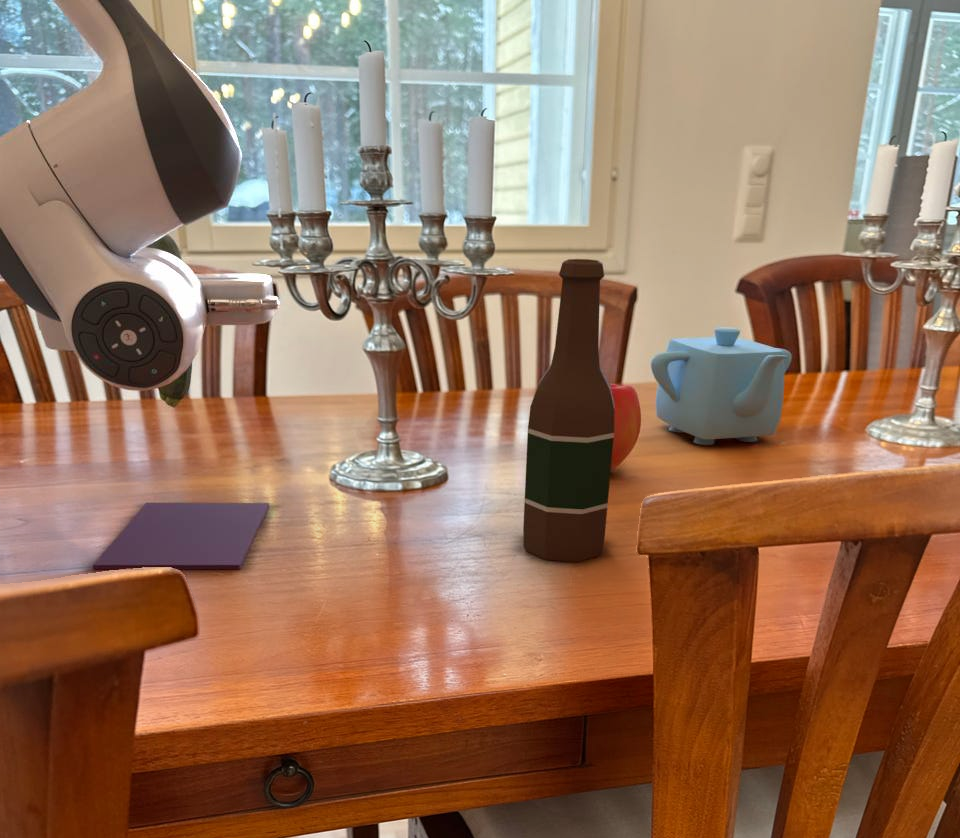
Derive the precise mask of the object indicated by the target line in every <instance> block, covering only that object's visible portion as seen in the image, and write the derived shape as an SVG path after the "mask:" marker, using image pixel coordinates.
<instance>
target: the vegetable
mask: <svg viewBox="0 0 960 838" xmlns="http://www.w3.org/2000/svg"><path fill="white" fill-rule="evenodd" d="M146 248H154V249H159V250H162V251H165V252H167V253H170V254H172V255H174V256H175V257H177V258H178V259H180V260H181V261H182V262H183V259H182V255H181V252H180V249H179V246H178V245H177V243H176V241H175V240H174V239H173V237H171V235H169V233H168V234H167V235H165V236H163V237H162V238H160V239H158V240H157V241H155V242H153V243H152V244H150V245H148V246H146ZM192 371H193V362H192V363H191V364H190V366H189V367H188V368H187V369H186V370H185V372H184V373H183V374H182V375H181V376H180V377H178V378H177V379H176V380H174V381H173V382H171V383H169V384H168V385H166V386H163V387H160V388H157V390H158V394H159V398H160V400H162V401H163V402H165V404H166V405H167V406H169V407H171V408H176V407H177V406H178V405H179V404H180V403H181V401H182V399H184V398H185V396H186V395H187V394H188V393H189V390H190V388H191V387H190V386H191V383H192Z"/></svg>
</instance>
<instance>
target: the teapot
mask: <svg viewBox="0 0 960 838" xmlns="http://www.w3.org/2000/svg"><path fill="white" fill-rule="evenodd" d="M713 330H714V336H708V337H704V336H703V337H677V338H671V339H670V340H668V344H667V346H666V350H665V351H663V352H660V353H658V354H655V355H654V356H653V357H652V359H651V360H650V368H651V373H652V375H653V377H654V379H655V381H656V382H657V387H656V388H657V389H656V395H655V412H656V418H658V419H659V420H661V421H662V422H664V423H666V424H667V425H668V426H670V427H669V429H668V431H671V432H674V433H685V434H688V435H691V436H694V439H693V443H695V444H698V445H703V446H708V445H709V446H710V445H714V444H715V440H720V439H721V440H722V439H736V440H737V441H740V442H744V443H745V442H746V443H753V442H757V441H758V438H757V437H764V436H773V435H775V433H776V431H777V428H778V426H779V425H780V422H781V418H782V412H783V405H784V394H785V374H786V372H787V370H788V369H789V367H790V366H791V362H792V358H793V357H792V354H791V352H790V351H789V350H787V349H784V348H778V347H773V346H771V345H766V344H763V343H761V342H760V343H759V342H757V341H752V340H749V339H745V338H741V337H739V336H740V334H741V330H740V329H739V328H736V327H729V326H728V327H726V326H725V327H723V326H721V327H716V328H714V329H713Z"/></svg>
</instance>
